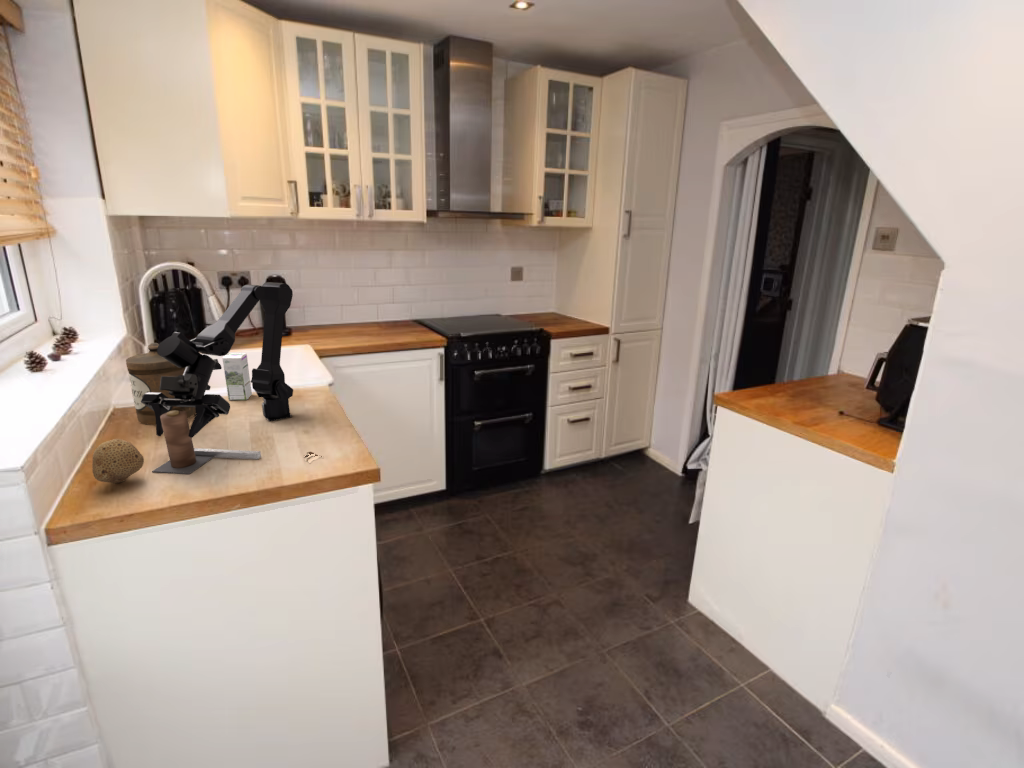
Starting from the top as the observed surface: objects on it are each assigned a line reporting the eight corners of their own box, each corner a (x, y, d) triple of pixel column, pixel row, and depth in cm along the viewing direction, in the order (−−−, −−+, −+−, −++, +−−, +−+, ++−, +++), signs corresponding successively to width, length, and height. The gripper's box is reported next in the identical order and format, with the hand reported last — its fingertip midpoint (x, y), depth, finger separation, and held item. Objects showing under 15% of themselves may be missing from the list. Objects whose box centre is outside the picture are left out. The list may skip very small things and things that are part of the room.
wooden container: (136, 413, 160) (121, 341, 154) (192, 404, 169) (181, 336, 162) (139, 429, 149) (123, 352, 142) (200, 418, 157) (188, 345, 151)
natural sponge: (154, 471, 124) (146, 431, 121) (134, 490, 116) (125, 447, 113) (111, 473, 123) (102, 433, 120) (88, 492, 114) (77, 449, 112)
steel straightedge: (261, 456, 133) (260, 451, 132) (257, 459, 131) (257, 453, 131) (191, 453, 134) (190, 447, 134) (187, 456, 133) (186, 450, 132)
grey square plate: (213, 457, 132) (213, 456, 132) (189, 474, 123) (189, 473, 123) (178, 456, 132) (178, 454, 132) (152, 472, 124) (152, 471, 124)
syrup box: (252, 394, 179) (247, 352, 174) (246, 400, 173) (240, 356, 169) (234, 395, 178) (228, 352, 174) (227, 401, 172) (221, 357, 168)
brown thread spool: (194, 456, 131) (184, 406, 127) (198, 464, 127) (187, 412, 123) (169, 462, 128) (158, 411, 124) (172, 470, 124) (160, 418, 120)
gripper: (138, 359, 125) (111, 420, 118) (216, 361, 124) (193, 423, 117) (167, 382, 135) (144, 440, 127) (239, 384, 134) (220, 443, 126)
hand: (174, 436), depth 124 cm, fingers open, 7 cm apart
